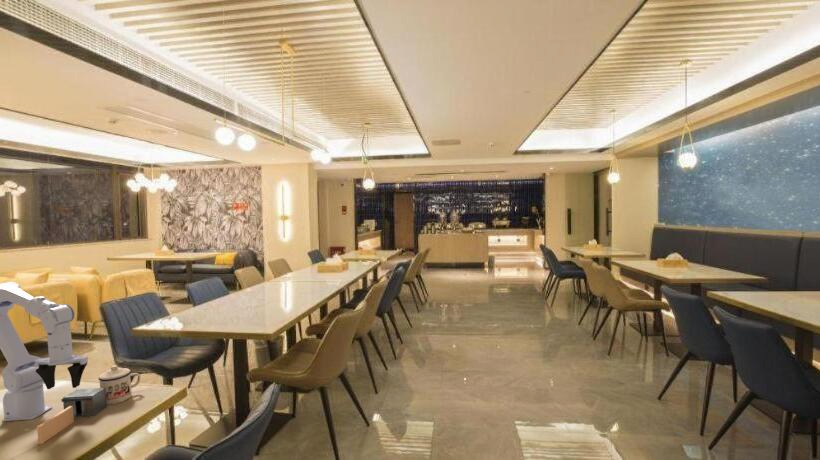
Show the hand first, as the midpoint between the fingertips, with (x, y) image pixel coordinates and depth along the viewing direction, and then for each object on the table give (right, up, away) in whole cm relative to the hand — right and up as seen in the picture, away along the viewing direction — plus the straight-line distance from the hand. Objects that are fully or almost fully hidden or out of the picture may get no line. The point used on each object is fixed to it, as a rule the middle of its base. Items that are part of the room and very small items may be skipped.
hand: (63, 387), depth 131 cm
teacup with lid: (+9, -9, +14) cm, 19 cm away
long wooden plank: (+5, -10, -8) cm, 14 cm away
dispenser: (+4, -10, +4) cm, 11 cm away
